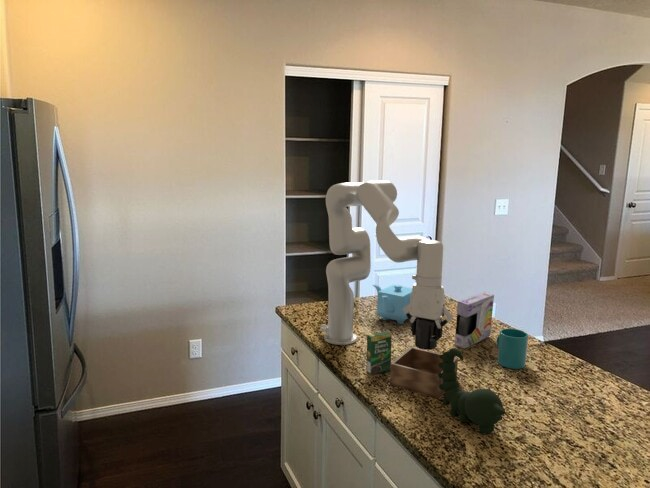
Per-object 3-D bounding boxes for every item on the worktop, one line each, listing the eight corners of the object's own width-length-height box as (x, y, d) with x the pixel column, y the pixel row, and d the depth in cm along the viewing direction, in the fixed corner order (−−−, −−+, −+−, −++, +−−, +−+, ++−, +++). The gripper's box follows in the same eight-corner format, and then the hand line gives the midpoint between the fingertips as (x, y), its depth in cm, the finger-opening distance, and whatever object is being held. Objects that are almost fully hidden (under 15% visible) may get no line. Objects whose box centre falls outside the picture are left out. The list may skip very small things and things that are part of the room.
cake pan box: (463, 350, 185) (466, 303, 182) (451, 346, 189) (454, 300, 185) (491, 337, 198) (495, 293, 194) (480, 333, 201) (483, 291, 198)
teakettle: (410, 311, 229) (411, 279, 226) (425, 325, 210) (426, 291, 208) (369, 312, 225) (370, 280, 223) (381, 327, 207) (382, 292, 204)
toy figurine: (430, 409, 146) (489, 449, 124) (430, 345, 144) (490, 374, 122) (457, 403, 150) (519, 440, 127) (457, 341, 148) (520, 367, 125)
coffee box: (369, 375, 164) (371, 337, 161) (365, 371, 166) (366, 334, 164) (391, 371, 167) (392, 333, 165) (386, 367, 170) (387, 330, 167)
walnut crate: (389, 384, 157) (390, 363, 156) (410, 366, 171) (410, 346, 169) (439, 398, 149) (440, 376, 148) (456, 378, 162) (457, 357, 161)
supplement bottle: (437, 351, 154) (439, 313, 151) (414, 349, 155) (415, 311, 153) (436, 343, 160) (438, 306, 158) (414, 341, 162) (416, 305, 159)
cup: (506, 353, 182) (508, 324, 180) (531, 367, 171) (534, 335, 169) (486, 357, 179) (488, 327, 176) (510, 371, 168) (513, 339, 166)
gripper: (397, 279, 155) (395, 334, 158) (452, 288, 146) (449, 346, 149) (407, 274, 161) (405, 327, 165) (460, 282, 152) (457, 338, 156)
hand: (426, 336), depth 157 cm, fingers closed on supplement bottle, 6 cm apart
